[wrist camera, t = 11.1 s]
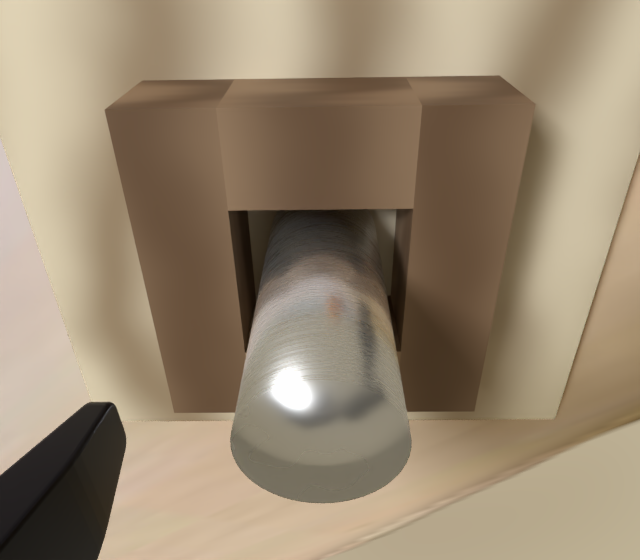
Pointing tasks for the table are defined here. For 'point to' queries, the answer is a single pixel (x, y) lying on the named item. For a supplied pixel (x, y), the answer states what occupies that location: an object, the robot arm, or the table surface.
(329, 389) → the peg
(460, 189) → the socket holder
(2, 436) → the table surface
